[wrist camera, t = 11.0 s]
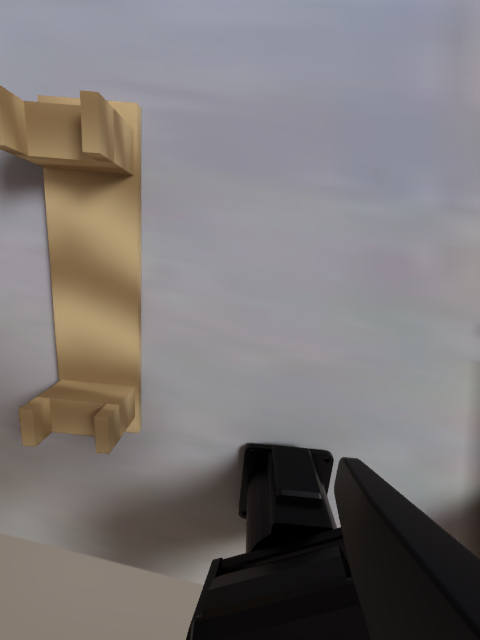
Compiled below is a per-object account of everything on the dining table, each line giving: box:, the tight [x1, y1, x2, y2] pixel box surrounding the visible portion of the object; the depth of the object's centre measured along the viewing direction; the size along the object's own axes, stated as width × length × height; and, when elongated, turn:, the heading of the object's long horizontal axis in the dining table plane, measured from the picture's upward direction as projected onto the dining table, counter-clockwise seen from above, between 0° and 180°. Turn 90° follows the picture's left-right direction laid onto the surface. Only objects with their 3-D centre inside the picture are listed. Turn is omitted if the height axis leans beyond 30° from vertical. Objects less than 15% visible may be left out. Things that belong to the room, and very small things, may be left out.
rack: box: [0, 86, 141, 454], centre depth 17 cm, size 21×6×4 cm, turn 175°
